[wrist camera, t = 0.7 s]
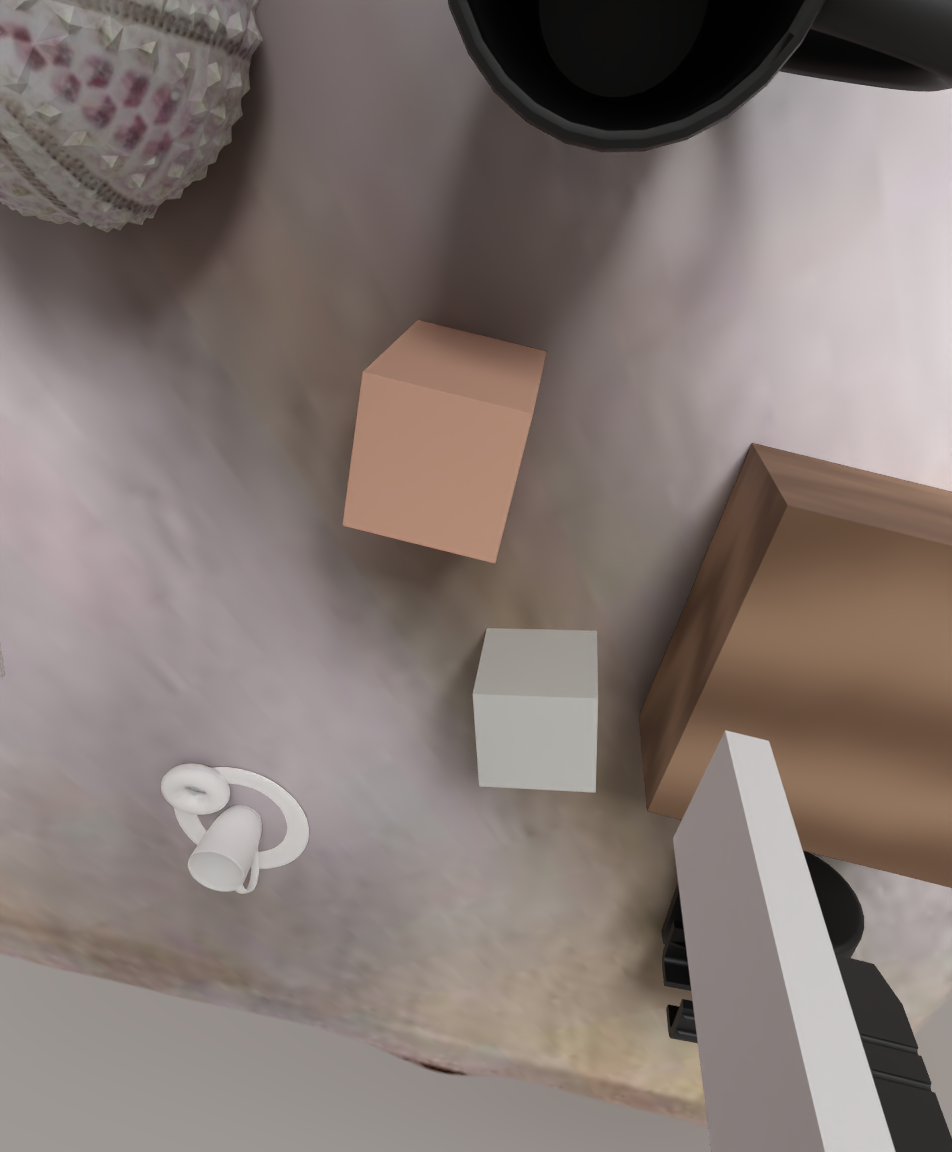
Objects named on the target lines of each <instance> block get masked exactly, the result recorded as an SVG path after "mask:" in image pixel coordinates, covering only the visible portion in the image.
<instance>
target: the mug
mask: <svg viewBox="0 0 952 1152" xmlns="http://www.w3.org/2000/svg"><path fill="white" fill-rule="evenodd" d="M448 4H449V8H450V11H451V13H452V15H453V18H454V20H455V23H456V25H457V28H458V30H459V32H460V35H461V37H462V40H463V42H464V44H465V47H466V49H467V52H468V54H469V56H470V57H471V58H472V60H473V61H474V63H475V64H476V66H477V67H478V69H479V70H480V72H481V73H482V75H483V76H484V78H485V79H486V80H487V82H488V83H489V85H490V86H491V88H492V89H493V91H494V92H495V93H496V94H497V95H498V96H499V97H500V98H501V99H502V100H503V101H504V102H506V103H507V104H508V105H509V106H510V107H511V108H512V109H513V110H514V111H515V112H516V113H517V114H519V115H520V116H521V117H522V118H523V119H524V120H525V121H526V122H528V123H529V124H531V125H533V126H535V127H536V128H538V129H540V130H542V131H544V132H546V133H547V134H549V135H551V136H553V137H555V138H557V139H558V140H560V141H562V142H564V143H566V144H570V145H574V146H578V147H582V148H586V149H590V150H594V151H599V152H641V151H646V150H650V149H654V148H657V147H661V146H665V145H669V144H672V143H676V142H680V141H684V140H687V139H689V138H691V137H693V136H694V135H696V134H698V133H700V132H702V131H704V130H706V129H708V128H710V127H711V126H713V125H715V124H717V123H719V122H721V121H723V120H725V119H727V118H728V117H729V116H731V115H732V114H733V113H734V112H735V111H737V110H738V109H739V108H740V107H741V106H743V105H744V104H745V103H746V102H748V101H749V100H750V99H751V98H752V97H754V96H755V95H756V94H757V93H758V92H760V91H761V90H762V89H763V88H764V87H766V86H767V85H768V83H769V82H770V81H771V80H772V79H773V77H774V76H775V75H776V74H777V73H778V71H781V72H787V73H792V74H798V75H803V76H809V77H815V78H821V79H828V80H834V81H840V82H847V83H853V84H860V85H867V86H874V87H881V88H889V89H898V90H908V91H939V90H944V89H950V88H952V0H448Z"/></svg>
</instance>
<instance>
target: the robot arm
mask: <svg viewBox="0 0 952 1152" xmlns="http://www.w3.org/2000/svg"><path fill="white" fill-rule="evenodd" d="M3 676H5V671H4V665H3V658H2V651H1V645H0V679H1V678H2V677H3ZM673 844H674V853H675V861H676V869H677V877H678V885H679V893H680V902H681V910H682V918H683V926H684V934H685V943H686V951H687V959H688V967H689V975H690V983H691V992H692V1000H693V1008H694V1016H695V1024H696V1032H697V1041H698V1049H699V1057H700V1065H701V1073H702V1082H703V1090H704V1098H705V1106H706V1114H707V1122H708V1131H709V1138H710V1146H711V1152H952V1138H951V1135H950V1132H949V1130H948V1127H947V1124H946V1122H945V1119H944V1116H943V1113H942V1111H941V1108H940V1105H939V1102H938V1100H937V1097H936V1094H935V1093H934V1092H932V1091H931V1088H930V1087H931V1081H930V1078H929V1075H928V1073H927V1070H926V1067H925V1065H924V1062H923V1059H922V1057H921V1056H919V1055H918V1053H917V1049H918V1046H917V1043H916V1040H915V1037H914V1035H913V1032H912V1029H911V1027H910V1024H909V1021H908V1018H907V1016H906V1013H905V1010H904V1008H903V1005H902V1003H901V1002H900V1000H899V999H898V998H897V996H896V995H895V993H894V992H893V991H892V989H891V988H890V986H889V985H888V983H887V982H886V981H885V979H884V978H883V976H882V975H881V973H880V972H879V971H878V969H877V968H876V966H875V965H874V964H872V963H867V962H863V961H859V960H855V959H851V958H847V957H843V956H839V955H835V954H834V951H833V947H832V944H831V941H830V938H829V934H828V931H827V928H826V924H825V921H824V918H823V915H822V911H821V908H820V905H819V902H818V898H817V895H816V892H815V889H814V885H813V882H812V879H811V876H810V872H809V869H808V866H807V863H806V859H805V856H804V853H803V850H802V846H801V843H800V840H799V837H798V833H797V830H796V827H795V824H794V820H793V817H792V814H791V811H790V807H789V804H788V801H787V798H786V794H785V791H784V788H783V785H782V781H781V778H780V775H779V772H778V768H777V765H776V762H775V759H774V755H773V752H772V749H771V746H770V742H769V741H767V740H763V739H759V738H755V737H751V736H747V735H743V734H738V733H734V732H730V731H726V730H725V732H724V734H723V736H722V738H721V740H720V742H719V744H718V746H717V748H716V750H715V752H714V754H713V756H712V759H711V761H710V763H709V765H708V767H707V769H706V771H705V773H704V775H703V777H702V779H701V781H700V783H699V785H698V788H697V790H696V792H695V794H694V796H693V798H692V800H691V802H690V804H689V806H688V808H687V810H686V812H685V814H684V817H683V819H682V821H681V823H680V825H679V827H678V829H677V831H676V833H675V835H674V837H673Z"/></svg>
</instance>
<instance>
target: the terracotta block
mask: <svg viewBox="0 0 952 1152" xmlns="http://www.w3.org/2000/svg"><path fill="white" fill-rule="evenodd" d="M546 353H547V351H543V350H539V349H535V348H531V347H527V346H523V345H519V344H515V343H510V342H506V341H502V340H498V339H494V338H490V337H486V336H482V335H478V334H474V333H470V332H465V331H461V330H457V329H453V328H449V327H445V326H441V325H437V324H433V323H429V322H424V321H420V320H417V321H416V322H415V323H414V324H413V325H412V326H411V327H410V328H409V329H408V330H407V331H406V332H404V333H403V334H402V335H401V336H400V337H399V338H398V339H397V340H396V341H395V342H394V343H393V344H392V345H391V346H390V347H389V348H387V349H386V350H385V351H384V352H383V353H382V354H381V355H380V356H379V357H378V358H377V359H376V360H375V361H374V362H373V363H372V364H370V365H369V366H368V367H367V368H366V369H365V370H364V371H363V374H362V381H361V389H360V396H359V404H358V412H357V419H356V427H355V434H354V442H353V450H352V457H351V465H350V472H349V480H348V488H347V495H346V503H345V510H344V518H343V526H346V527H350V528H354V529H358V530H362V531H366V532H370V533H374V534H378V535H382V536H386V537H390V538H394V539H398V540H402V541H406V542H410V543H415V544H419V545H423V546H427V547H431V548H435V549H439V550H443V551H447V552H451V553H455V554H459V555H463V556H467V557H471V558H475V559H479V560H483V561H487V562H491V563H495V562H496V558H497V554H498V550H499V546H500V543H501V539H502V535H503V531H504V527H505V523H506V519H507V515H508V511H509V507H510V503H511V499H512V495H513V491H514V487H515V483H516V479H517V475H518V471H519V468H520V464H521V460H522V456H523V452H524V448H525V444H526V440H527V436H528V432H529V428H530V424H531V420H532V416H533V412H534V407H535V403H536V398H537V394H538V389H539V385H540V380H541V376H542V371H543V366H544V362H545V357H546Z"/></svg>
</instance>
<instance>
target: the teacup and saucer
mask: <svg viewBox="0 0 952 1152" xmlns="http://www.w3.org/2000/svg"><path fill="white" fill-rule="evenodd" d="M229 784H238V785H243V786H247V787H250V788H252V789H255V790H257V791H259V792H261V793H263V794H264V795H266V796H267V797H269V798H270V799H271V800H273V801H274V802H275V803H276V804H277V805H278V807H279V808H280V809H281V811H282V812H283V814H284V816H285V818H286V822H287V834H286V836H285V838H284V840H283V841H282V842H281V843H280V844H279V845H278V846H277V847H275V848H273V849H270V850H267V851H262V852H258V845H259V841H260V837H261V832H262V822H261V818H260V816H259V815H258V813H257V812H256V811H254V810H253V809H251V808H249V807H247V806H243V805H235V806H232V807H230V808H228V809H226V810H225V811H224V812H223V813H221V814H220V815H219V816H218V817H217V819H216V820H215V821H214V822H213V824H212V825H211V826H210V828H209V829H208V830H207V831H206V830H205V828H204V827H203V826H202V824H201V822H200V821H199V818H198V815H206V814H211V813H215V812H217V811H219V810H221V809H222V808H224V807H225V805H226V804H227V803H228V801H229V798H230V788H229ZM161 792H162V794H163V796H164V798H165V799H166V800H167V801H168V803H169V804H171V805H172V806H173V807H174V811H175V815H176V818H177V820H178V822H179V824H180V826H181V828H182V829H183V831H184V832H185V833H186V835H187V836H188V837H189V838H190V839H191V840H192V841H193V842H194V843H195V844H196V845H197V847H196V848H195V850H194V851H193V853H192V855H191V856H190V858H189V860H188V869H189V872H190V874H191V875H192V876H193V878H194V879H195V880H196V881H197V882H199V883H200V884H202V885H203V886H205V887H207V888H210V889H212V890H216V891H222V892H228V891H233V890H235V891H236V892H237V893H240V894H246V893H249V892H252V891H253V890H254V889H255V887H256V885H257V881H258V876H259V869H270V868H276V867H280V866H283V865H286V864H288V863H290V862H292V861H293V860H295V859H296V858H297V857H299V856H300V855H301V853H302V852H303V851H304V849H305V848H306V846H307V843H308V839H309V825H308V821H307V818H306V816H305V814H304V812H303V810H302V808H301V807H300V805H299V804H298V803H297V801H296V800H295V799H294V798H293V797H292V796H291V795H290V794H289V793H288V792H287V791H286V790H284V789H283V788H282V787H281V786H279V785H278V784H276V783H275V782H273V781H271V780H269V779H267V778H265V777H263V776H261V775H259V774H256V773H253V772H250V771H247V770H243V769H238V768H231V767H214V768H210V767H208V766H205V765H201V764H193V763H189V764H182V765H178V766H176V767H174V768H172V769H171V770H169V771H168V772H167V774H165V776H164V777H163V779H162V782H161ZM250 868H251V877H250V882H249V885H248V887H247V889H245V888H244V886H243V883H244V881H245V879H246V876H247V874H248V871H249V869H250Z"/></svg>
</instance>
